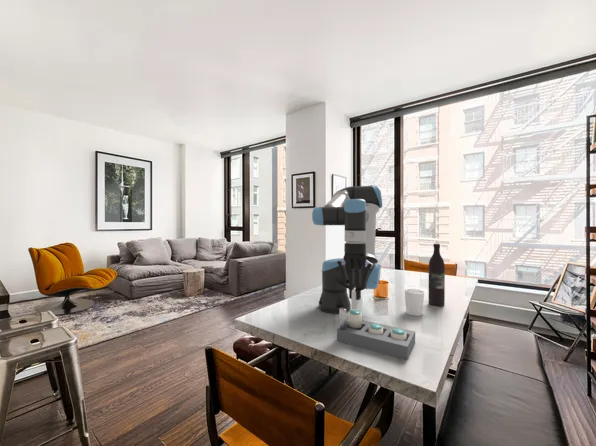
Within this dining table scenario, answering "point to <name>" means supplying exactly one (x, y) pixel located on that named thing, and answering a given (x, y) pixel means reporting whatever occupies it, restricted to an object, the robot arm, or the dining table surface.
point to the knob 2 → (398, 334)
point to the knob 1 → (354, 319)
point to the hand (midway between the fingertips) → (354, 308)
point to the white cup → (414, 302)
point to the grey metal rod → (342, 318)
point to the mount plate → (378, 340)
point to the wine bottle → (436, 278)
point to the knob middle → (376, 329)
